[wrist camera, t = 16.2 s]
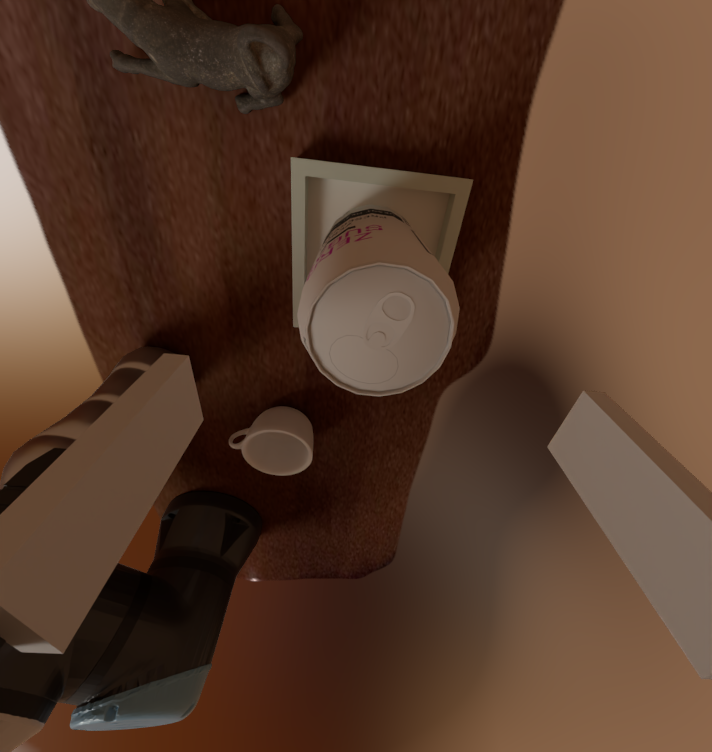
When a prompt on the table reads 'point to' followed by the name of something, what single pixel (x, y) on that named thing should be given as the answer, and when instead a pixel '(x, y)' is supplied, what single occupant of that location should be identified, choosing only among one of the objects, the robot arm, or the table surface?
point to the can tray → (370, 187)
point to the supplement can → (377, 305)
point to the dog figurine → (206, 48)
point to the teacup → (277, 442)
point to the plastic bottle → (84, 410)
